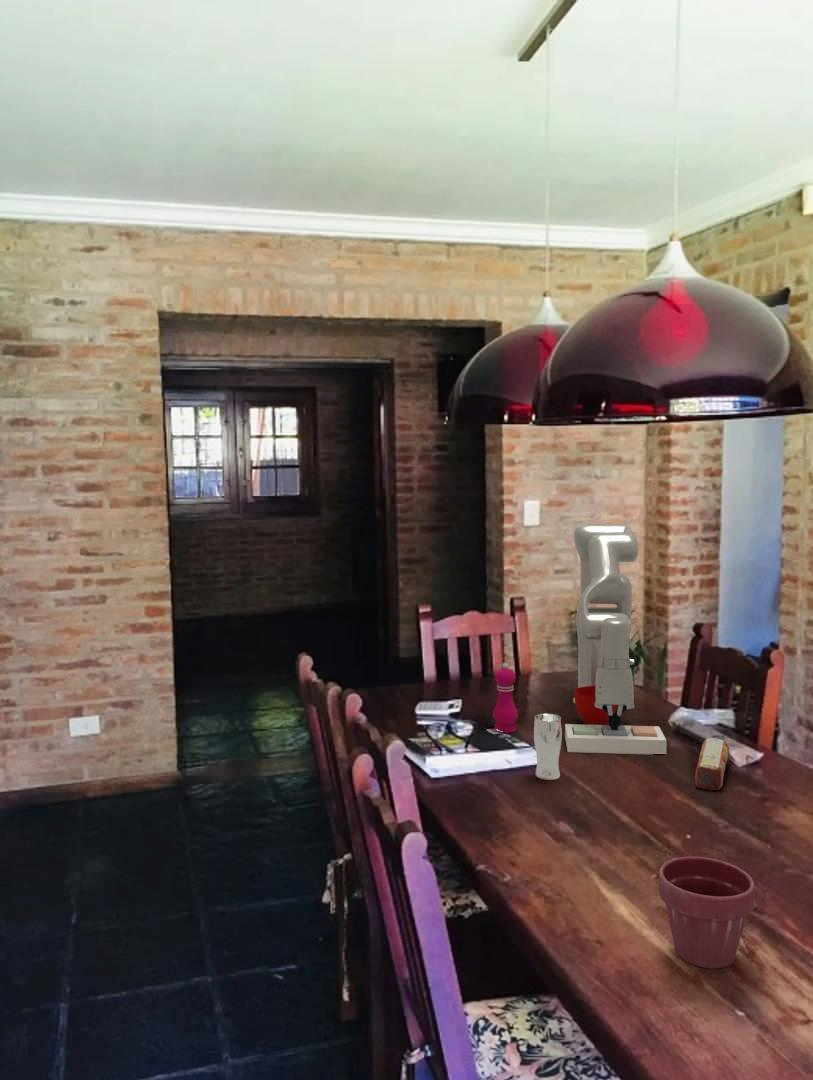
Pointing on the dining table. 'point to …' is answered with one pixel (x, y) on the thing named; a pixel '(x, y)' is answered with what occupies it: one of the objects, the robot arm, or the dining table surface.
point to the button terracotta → (643, 731)
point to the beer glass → (547, 745)
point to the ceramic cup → (590, 707)
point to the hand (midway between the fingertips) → (614, 728)
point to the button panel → (615, 742)
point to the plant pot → (706, 908)
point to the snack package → (712, 764)
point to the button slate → (613, 731)
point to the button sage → (584, 730)
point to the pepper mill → (505, 701)
